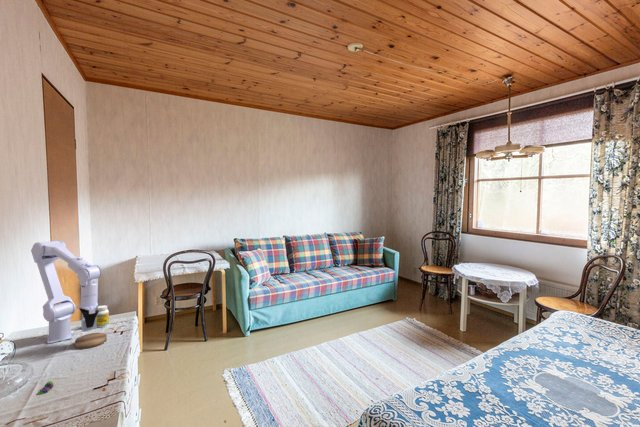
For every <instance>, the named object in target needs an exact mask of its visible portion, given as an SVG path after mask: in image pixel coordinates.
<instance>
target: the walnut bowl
mask: <svg viewBox="0 0 640 427" xmlns="http://www.w3.org/2000/svg"><path fill="white" fill-rule="evenodd" d="M104 342H105V343H106V342H107V333H104V332H93V333H88V334H85V335H81V336H78V338H75V341H74V348H75V349H79V350H87V349H88V350H89V349H93V348H96V347H99V346H101V345H104Z"/></svg>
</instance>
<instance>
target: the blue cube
mask: <svg viewBox="0 0 640 427" xmlns="http://www.w3.org/2000/svg"><path fill="white" fill-rule="evenodd" d="M80 328H81V330H82V333H83V332H89V331H92V330H96V329H97V327H96V318H95V322H94V325H93V327H89V328H87V327H86V322H85V318H83V317H81V326H80Z"/></svg>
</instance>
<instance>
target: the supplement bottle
mask: <svg viewBox="0 0 640 427" xmlns="http://www.w3.org/2000/svg"><path fill="white" fill-rule="evenodd" d="M96 310H99V313H98V314H97V316H96V328H105V327H107V326H108V325H109V324H110V311H109V310H110V309H108V305H98V306H97V307H96ZM104 326H105V327H104Z"/></svg>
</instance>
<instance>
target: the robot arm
mask: <svg viewBox="0 0 640 427" xmlns="http://www.w3.org/2000/svg"><path fill="white" fill-rule="evenodd" d="M66 244H67V243H66V242H64V241H62V240H60V239H58V240H51V241H43V242H38V241H37V242H35V243H34V244H33V245H32V246H31V249H30V252H31V256H32V258H33V261H34V263H36V265H37V269H38V271H39V273H40V278H41V281H42V284H43V287H44V290H45V294H46V296H47V301H46V302H45V303H44V304H43V306H42V312H43V313H42V315H43V318H44V320H46V322H48V334H47V336H46V339H47V340H46V342H47V344H54V343H57V342H63V341H67V340H72V338H73V337H72V331H71V317H73V315H74V314H75V312H76V309H79V311H80V313H81V314H82V318H85V322H86V327H87V328H89V327H93V325H94V322H95V318H96V316H97V314H98V313H99V310H97V307H98V306H99V303H98V300H99V299H98V298H99V296H98V295H99V293H98V292H99V291H98V290H99V287H98V286H99V278H100V277H102V275H103V274H102V273H103V272H102V268H101V266H99V265H98V264H97V265H96V264H95V265H94V264H91V263H89V262H88V261H86V259H84V258H83V257H81V256H76V255H74V254H73V253H72V252H71V251H70V250H69V249H68V248H67V245H66ZM58 259H61V260H63V261H64V262H66V263H67V267H68V268H69V269H70V270H72V272H74V273H75V274H77V278H78V282H79V285H80V304H79V305H76V304H75V303H74V301H73V300H72V297H70V296H68V295H65V294H64V291H63V289H62V288H63V287H62V285H61V283H60V279H59V276H58V272H57V269H56V266H55V264H54V262H55V261H56V260H58Z"/></svg>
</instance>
